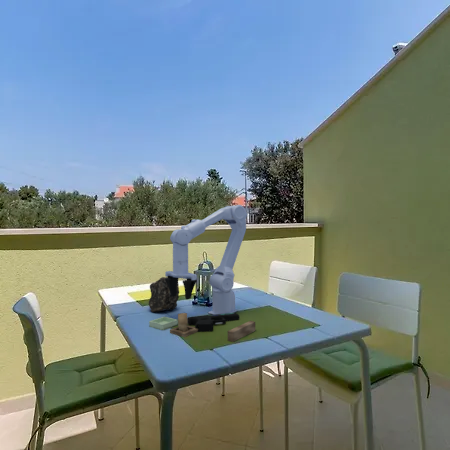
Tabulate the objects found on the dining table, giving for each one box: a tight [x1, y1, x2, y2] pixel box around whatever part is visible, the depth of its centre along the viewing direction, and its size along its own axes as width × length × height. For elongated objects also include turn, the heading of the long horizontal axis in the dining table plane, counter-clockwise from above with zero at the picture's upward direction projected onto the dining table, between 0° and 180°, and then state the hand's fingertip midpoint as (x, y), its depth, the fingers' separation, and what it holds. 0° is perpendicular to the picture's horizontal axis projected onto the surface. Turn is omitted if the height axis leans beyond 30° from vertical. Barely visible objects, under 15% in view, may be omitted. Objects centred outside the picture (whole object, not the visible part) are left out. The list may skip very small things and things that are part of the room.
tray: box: [148, 316, 178, 331], centre depth 111 cm, size 7×7×2 cm
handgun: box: [187, 312, 240, 333], centre depth 112 cm, size 19×3×12 cm
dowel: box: [177, 312, 189, 332], centre depth 104 cm, size 3×3×6 cm
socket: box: [169, 325, 198, 338], centre depth 104 cm, size 7×7×1 cm
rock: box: [148, 276, 180, 313], centre depth 133 cm, size 14×13×15 cm
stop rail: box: [227, 320, 256, 343], centre depth 101 cm, size 13×2×3 cm, turn 143°
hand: (180, 297), depth 118 cm, fingers open, 7 cm apart
